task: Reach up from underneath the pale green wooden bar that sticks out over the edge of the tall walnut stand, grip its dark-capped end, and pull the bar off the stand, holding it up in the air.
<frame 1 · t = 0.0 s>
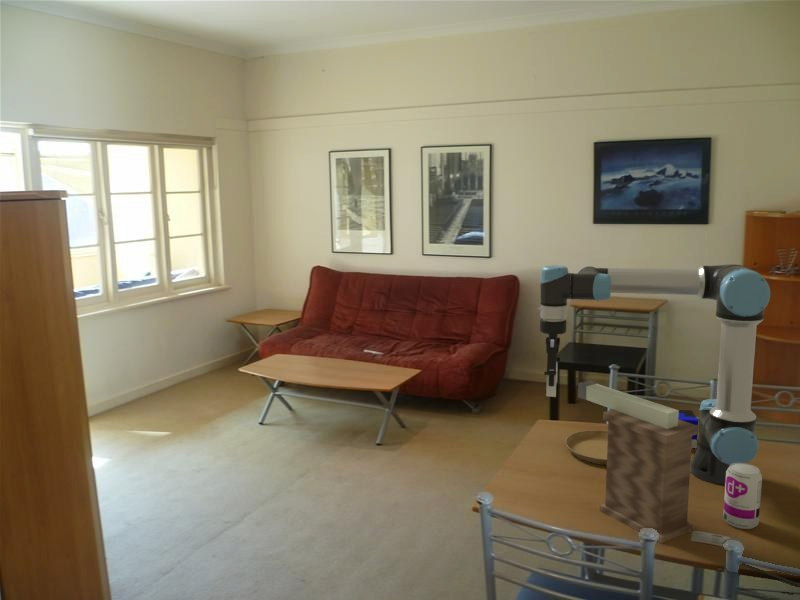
hand: (551, 389, 198), 28 cm above the table, tool pointing down, fingers open, 13 cm apart
stand: (644, 519, 177), on the table
plant saucer: (602, 453, 221), on the table
bar: (624, 410, 179), point 28 cm above the table, touching stand
puzzle toy: (677, 443, 228), on the table
supplement can: (740, 523, 175), on the table
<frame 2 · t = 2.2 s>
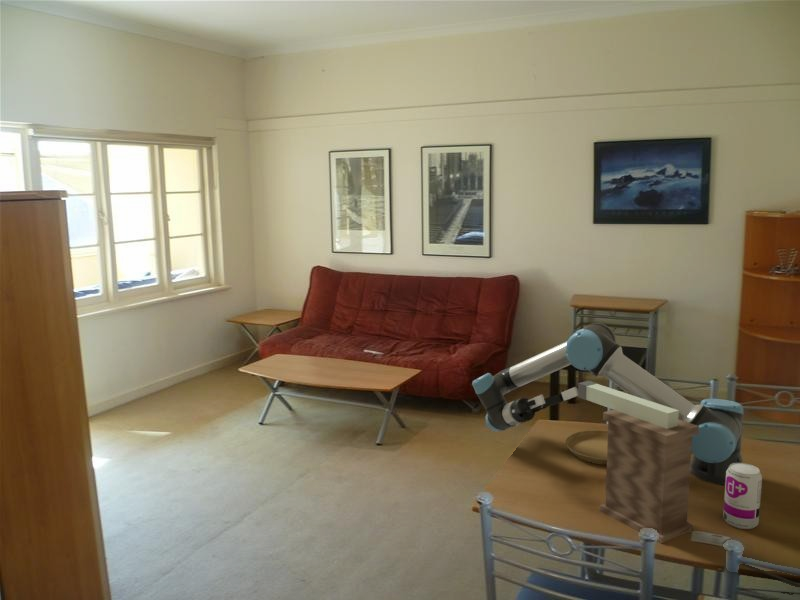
hand: (560, 394, 200), 26 cm above the table, tool pointing upward, fingers open, 13 cm apart
nothing on the table moved.
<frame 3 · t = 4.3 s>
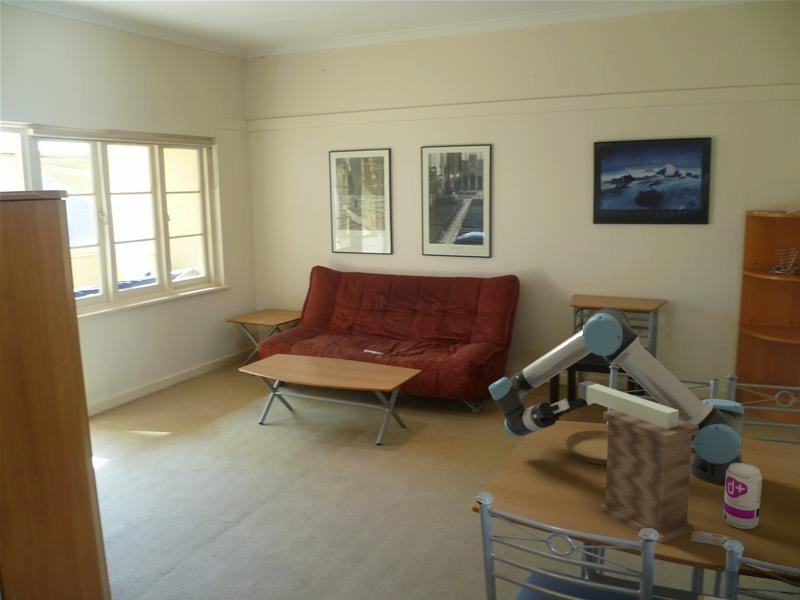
hand: (584, 399, 190), 27 cm above the table, tool pointing upward, fingers open, 13 cm apart
nothing on the table moved.
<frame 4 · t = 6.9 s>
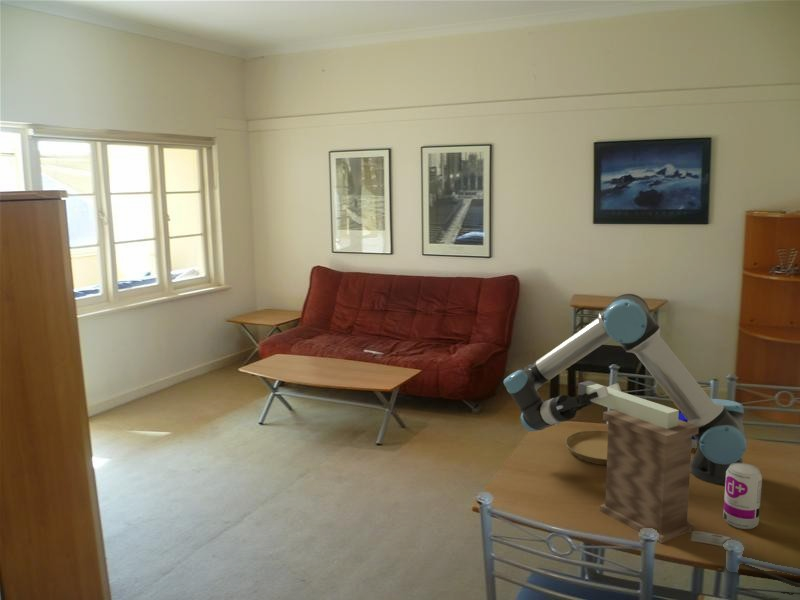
hand: (612, 389, 182), 33 cm above the table, tool pointing upward, fingers closed on bar, 4 cm apart
bar: (624, 410, 179), point 28 cm above the table, touching gripper, stand
everything else where it was.
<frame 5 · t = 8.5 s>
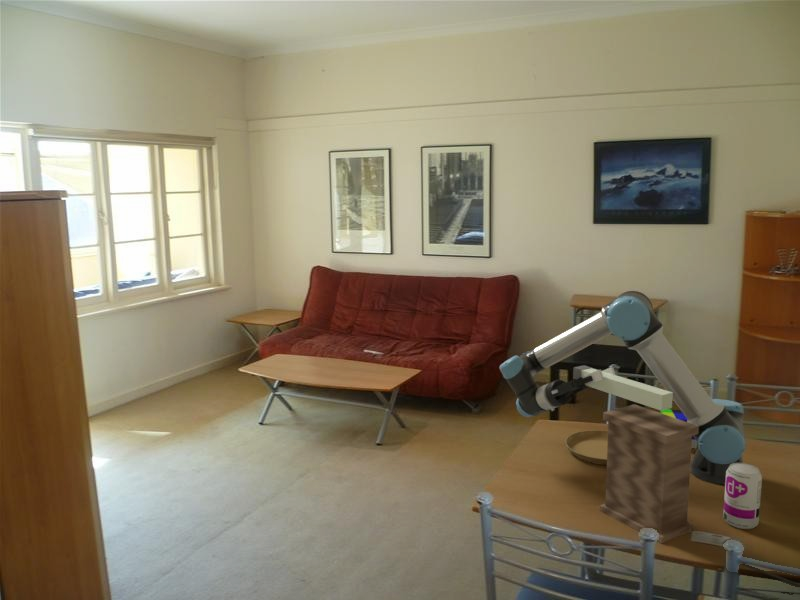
hand: (607, 373, 182), 37 cm above the table, tool pointing upward, fingers closed on bar, 4 cm apart
bar: (619, 393, 180), point 32 cm above the table, touching gripper
everything else where it was.
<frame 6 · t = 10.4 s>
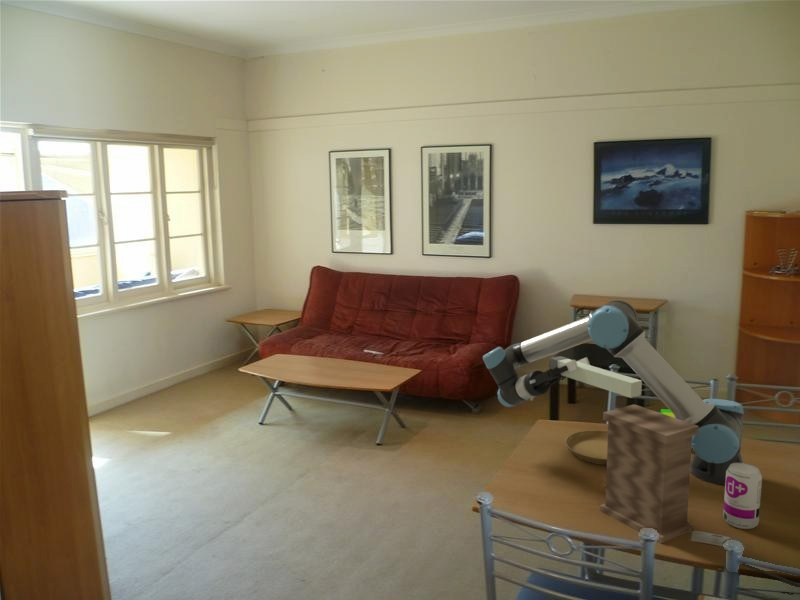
hand: (581, 363, 190), 37 cm above the table, tool pointing upward, fingers closed on bar, 4 cm apart
bar: (592, 382, 188), point 33 cm above the table, touching gripper
everything else where it was.
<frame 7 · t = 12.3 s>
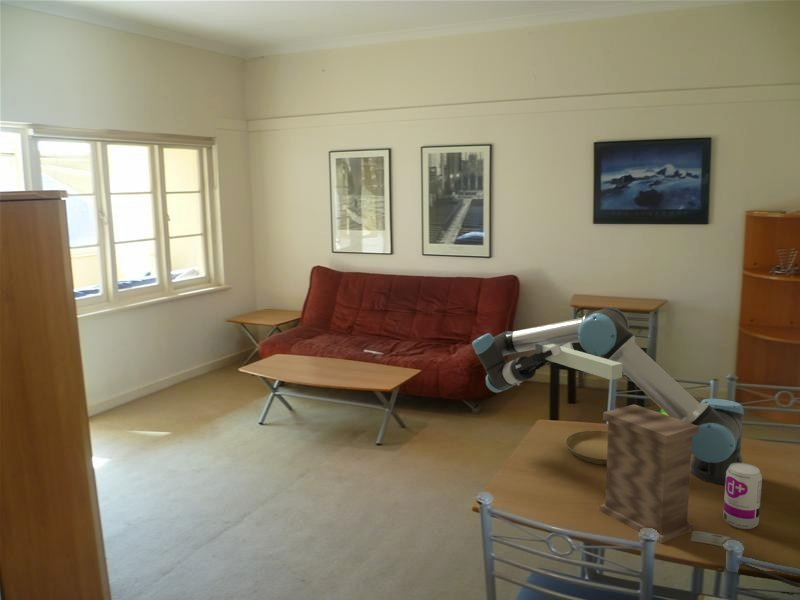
hand: (565, 347, 196), 41 cm above the table, tool pointing upward, fingers closed on bar, 4 cm apart
bar: (576, 366, 193), point 36 cm above the table, touching gripper
everything else where it was.
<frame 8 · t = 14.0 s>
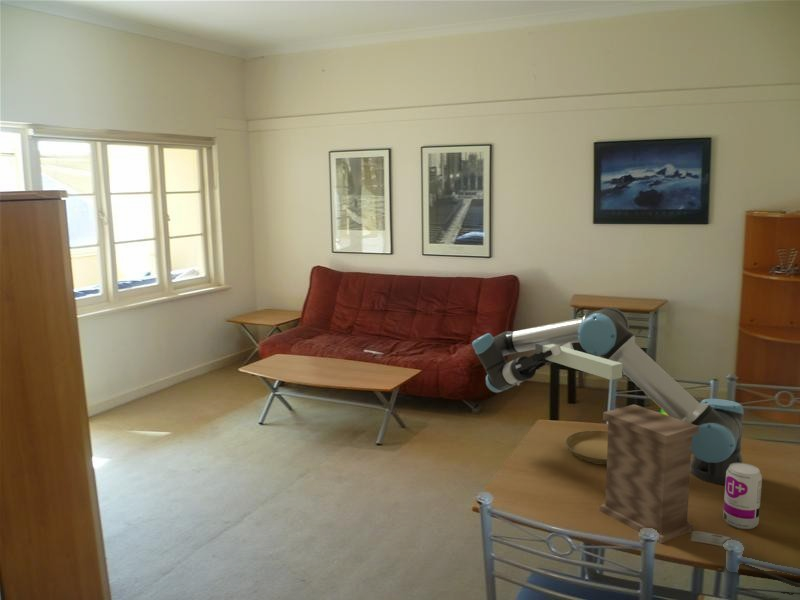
hand: (565, 347, 196), 41 cm above the table, tool pointing upward, fingers closed on bar, 4 cm apart
bar: (576, 366, 193), point 36 cm above the table, touching gripper
everything else where it was.
at the end: the gripper is holding bar; bar moved 19.7 cm from its start; bar point 36.0 cm above the table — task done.
